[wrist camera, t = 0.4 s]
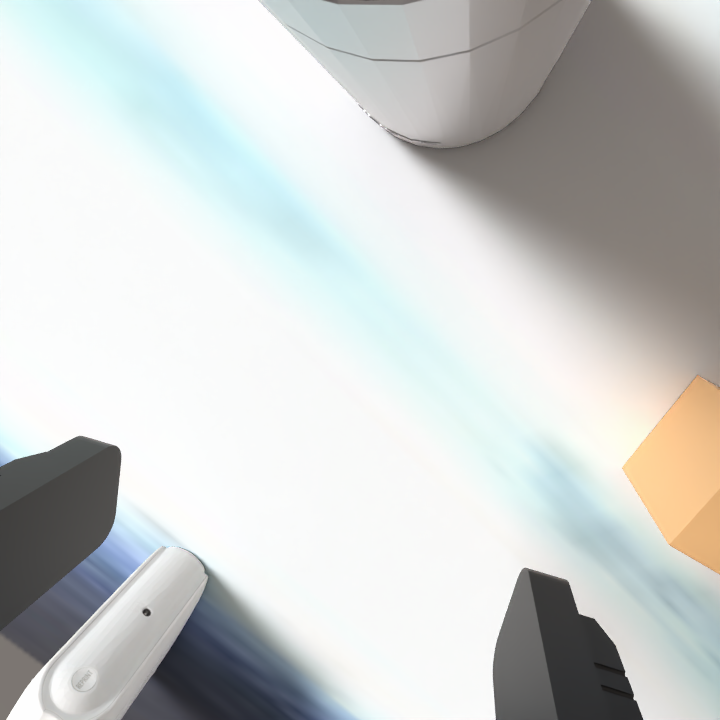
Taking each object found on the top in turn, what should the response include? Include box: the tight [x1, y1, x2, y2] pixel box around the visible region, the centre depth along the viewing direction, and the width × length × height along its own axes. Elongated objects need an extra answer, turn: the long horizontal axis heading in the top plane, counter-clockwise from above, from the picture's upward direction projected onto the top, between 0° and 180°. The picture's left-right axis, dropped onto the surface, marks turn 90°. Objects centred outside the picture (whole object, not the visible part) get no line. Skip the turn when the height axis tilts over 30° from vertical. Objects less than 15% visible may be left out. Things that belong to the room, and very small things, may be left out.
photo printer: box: [7, 546, 208, 720], centre depth 28 cm, size 10×4×12 cm, turn 149°
